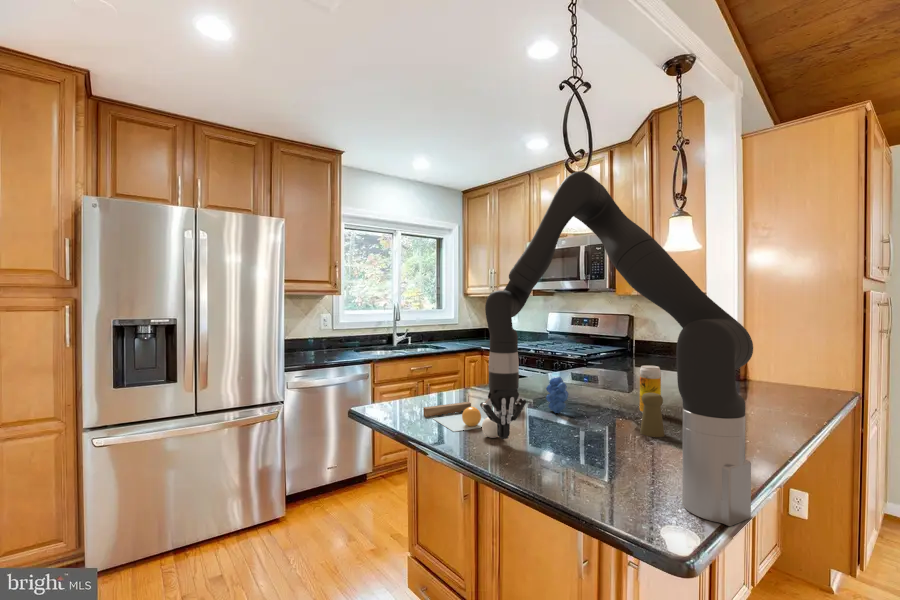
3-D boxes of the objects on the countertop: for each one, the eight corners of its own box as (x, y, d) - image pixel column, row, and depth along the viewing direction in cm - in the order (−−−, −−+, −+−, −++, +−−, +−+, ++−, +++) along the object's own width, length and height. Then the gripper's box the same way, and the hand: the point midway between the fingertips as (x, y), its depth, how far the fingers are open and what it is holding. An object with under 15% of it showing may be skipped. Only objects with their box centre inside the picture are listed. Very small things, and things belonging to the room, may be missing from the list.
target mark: (496, 425, 122) (496, 424, 122) (453, 432, 116) (453, 431, 116) (472, 413, 134) (472, 412, 134) (432, 418, 128) (432, 418, 128)
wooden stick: (471, 410, 138) (471, 403, 138) (425, 416, 130) (425, 408, 130) (468, 409, 139) (468, 401, 139) (423, 415, 132) (423, 407, 132)
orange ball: (482, 404, 121) (473, 407, 125) (465, 406, 118) (457, 409, 123) (486, 423, 119) (477, 426, 124) (469, 426, 117) (460, 429, 121)
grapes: (578, 417, 130) (578, 378, 130) (558, 419, 128) (558, 379, 128) (559, 408, 141) (560, 372, 141) (541, 409, 140) (541, 373, 140)
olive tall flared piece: (667, 438, 111) (667, 396, 111) (643, 436, 112) (643, 395, 112) (660, 430, 117) (661, 391, 117) (637, 429, 118) (637, 390, 118)
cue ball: (498, 411, 114) (494, 428, 116) (480, 412, 112) (476, 430, 113) (508, 423, 109) (504, 441, 111) (490, 425, 107) (485, 443, 109)
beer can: (635, 412, 136) (635, 365, 136) (648, 410, 139) (648, 364, 139) (651, 417, 131) (651, 368, 131) (665, 414, 133) (665, 367, 133)
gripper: (489, 374, 100) (488, 446, 100) (533, 369, 106) (533, 438, 106) (473, 369, 107) (473, 437, 107) (516, 365, 113) (516, 430, 113)
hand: (503, 438), depth 106 cm, fingers closed
